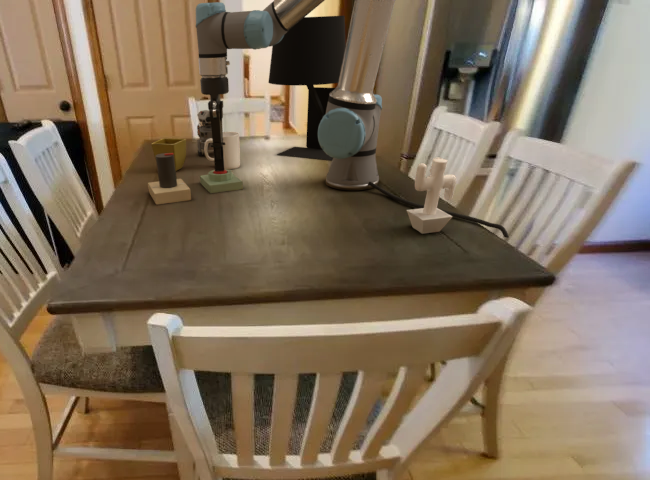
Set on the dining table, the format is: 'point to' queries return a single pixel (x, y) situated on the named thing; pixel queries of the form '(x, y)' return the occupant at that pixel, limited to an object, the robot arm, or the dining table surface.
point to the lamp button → (220, 172)
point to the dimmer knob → (166, 170)
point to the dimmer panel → (169, 192)
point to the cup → (228, 150)
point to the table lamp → (310, 70)
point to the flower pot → (171, 149)
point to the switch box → (221, 182)
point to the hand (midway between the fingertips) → (219, 170)
